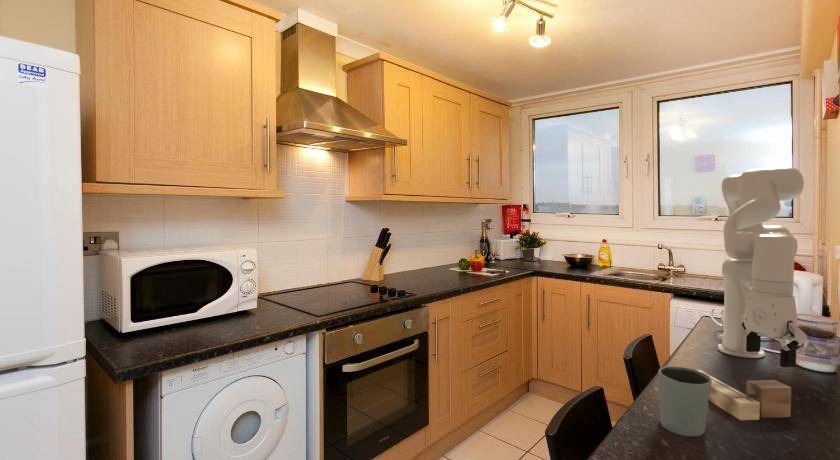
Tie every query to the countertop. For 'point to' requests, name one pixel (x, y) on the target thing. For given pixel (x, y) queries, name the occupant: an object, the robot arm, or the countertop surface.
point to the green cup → (683, 400)
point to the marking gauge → (770, 397)
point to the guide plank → (733, 400)
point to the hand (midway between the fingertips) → (769, 358)
